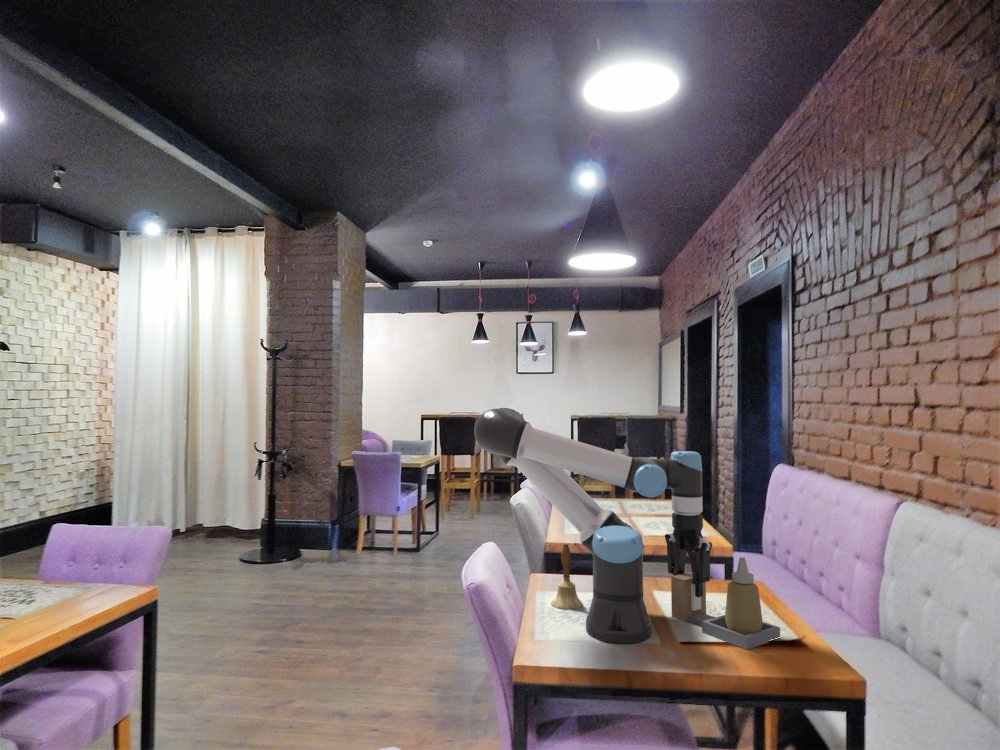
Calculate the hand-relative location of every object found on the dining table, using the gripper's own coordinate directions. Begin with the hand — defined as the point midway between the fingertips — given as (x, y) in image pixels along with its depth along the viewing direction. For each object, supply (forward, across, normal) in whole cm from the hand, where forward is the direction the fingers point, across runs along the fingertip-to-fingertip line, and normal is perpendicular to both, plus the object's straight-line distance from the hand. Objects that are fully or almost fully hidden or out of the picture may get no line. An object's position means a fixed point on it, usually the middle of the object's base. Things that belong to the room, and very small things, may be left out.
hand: (688, 606), depth 152 cm
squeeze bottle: (+3, -16, 0) cm, 16 cm away
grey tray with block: (+2, -9, 0) cm, 10 cm away
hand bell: (+3, +24, +20) cm, 31 cm away
